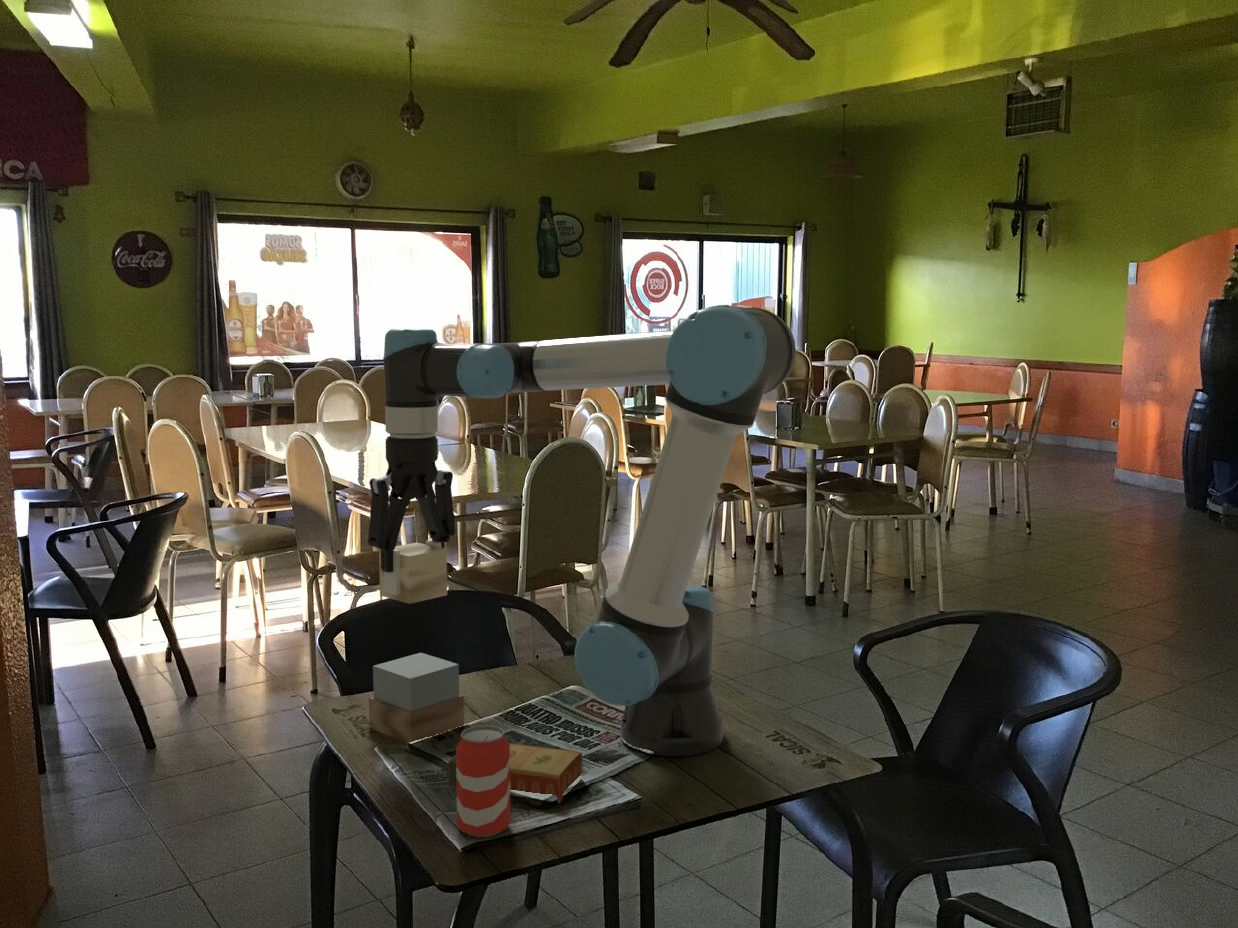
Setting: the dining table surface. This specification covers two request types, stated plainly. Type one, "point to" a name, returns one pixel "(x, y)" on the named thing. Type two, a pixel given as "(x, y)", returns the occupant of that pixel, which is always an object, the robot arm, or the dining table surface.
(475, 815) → the beverage can
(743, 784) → the dining table surface
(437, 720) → the tower base
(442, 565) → the maple cube
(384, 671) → the tower top
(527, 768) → the carton
